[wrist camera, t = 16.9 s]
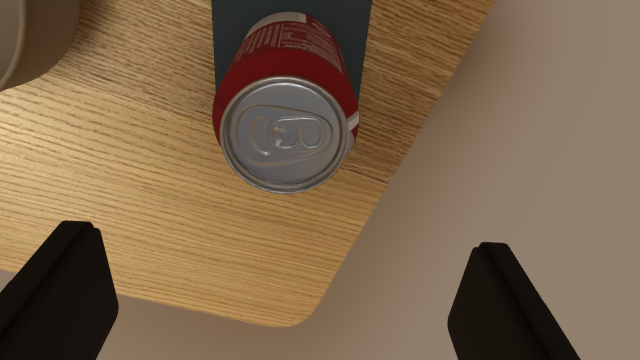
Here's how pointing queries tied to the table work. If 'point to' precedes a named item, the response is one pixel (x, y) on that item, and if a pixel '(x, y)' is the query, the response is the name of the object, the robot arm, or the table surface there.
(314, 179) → the soda can
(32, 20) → the bowl
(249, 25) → the coaster mat
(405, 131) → the table surface
